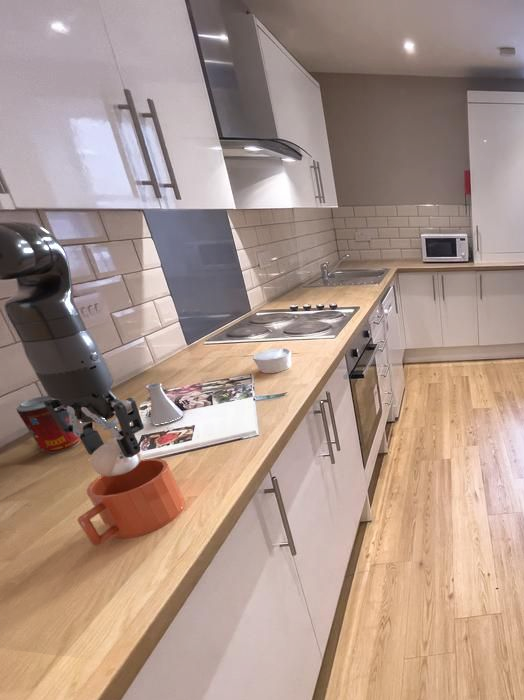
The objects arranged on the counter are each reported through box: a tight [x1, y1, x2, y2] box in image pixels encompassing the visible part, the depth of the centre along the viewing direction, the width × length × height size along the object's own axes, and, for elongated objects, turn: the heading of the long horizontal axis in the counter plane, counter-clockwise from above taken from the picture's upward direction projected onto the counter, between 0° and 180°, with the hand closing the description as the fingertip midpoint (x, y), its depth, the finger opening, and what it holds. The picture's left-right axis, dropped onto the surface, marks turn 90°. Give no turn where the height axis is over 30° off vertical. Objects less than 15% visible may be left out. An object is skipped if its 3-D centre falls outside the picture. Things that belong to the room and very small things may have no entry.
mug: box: [77, 458, 186, 547], centre depth 72 cm, size 14×11×9 cm
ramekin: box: [252, 347, 292, 374], centre depth 138 cm, size 11×11×5 cm
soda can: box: [16, 395, 81, 454], centre depth 94 cm, size 7×7×12 cm
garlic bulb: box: [90, 427, 143, 476], centre depth 69 cm, size 7×6×8 cm
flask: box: [145, 382, 184, 424], centre depth 106 cm, size 7×7×10 cm
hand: (115, 453), depth 69 cm, fingers closed on garlic bulb, 6 cm apart
